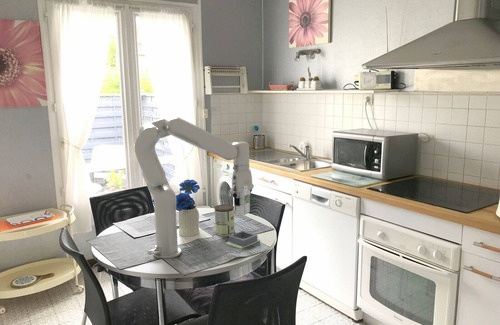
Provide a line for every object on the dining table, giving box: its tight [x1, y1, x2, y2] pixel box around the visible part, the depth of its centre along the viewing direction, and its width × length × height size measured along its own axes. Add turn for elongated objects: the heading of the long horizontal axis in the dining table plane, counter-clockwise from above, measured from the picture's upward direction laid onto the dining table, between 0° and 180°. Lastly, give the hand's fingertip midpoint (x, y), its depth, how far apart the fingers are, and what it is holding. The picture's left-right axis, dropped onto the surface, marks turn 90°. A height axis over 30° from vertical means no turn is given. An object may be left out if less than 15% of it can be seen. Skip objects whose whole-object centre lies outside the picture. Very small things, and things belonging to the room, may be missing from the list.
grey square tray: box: [228, 230, 259, 247], centre depth 203 cm, size 10×10×3 cm
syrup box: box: [233, 185, 251, 216], centre depth 199 cm, size 6×6×14 cm
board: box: [225, 238, 261, 250], centre depth 203 cm, size 14×10×1 cm
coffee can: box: [213, 203, 236, 237], centre depth 216 cm, size 10×10×14 cm
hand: (242, 203), depth 200 cm, fingers closed on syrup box, 6 cm apart
